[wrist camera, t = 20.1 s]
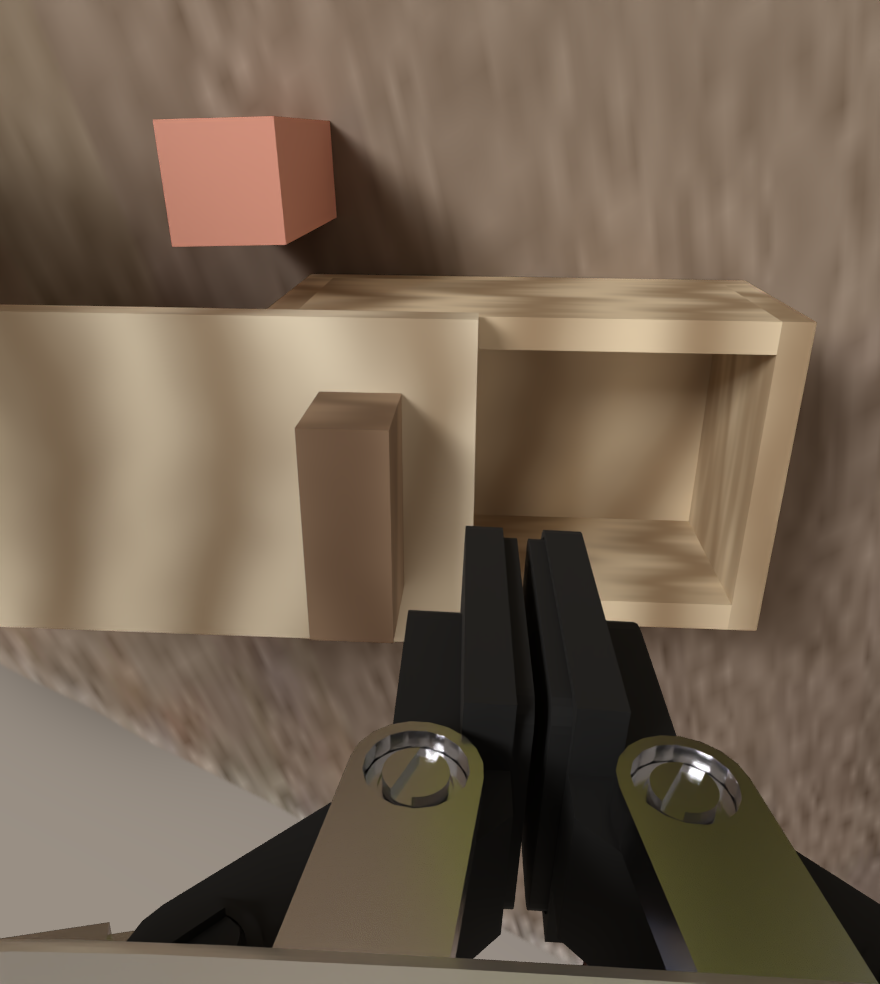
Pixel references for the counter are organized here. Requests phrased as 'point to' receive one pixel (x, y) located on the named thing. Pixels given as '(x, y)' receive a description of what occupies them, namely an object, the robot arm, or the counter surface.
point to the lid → (234, 469)
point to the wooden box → (625, 425)
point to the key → (245, 179)
